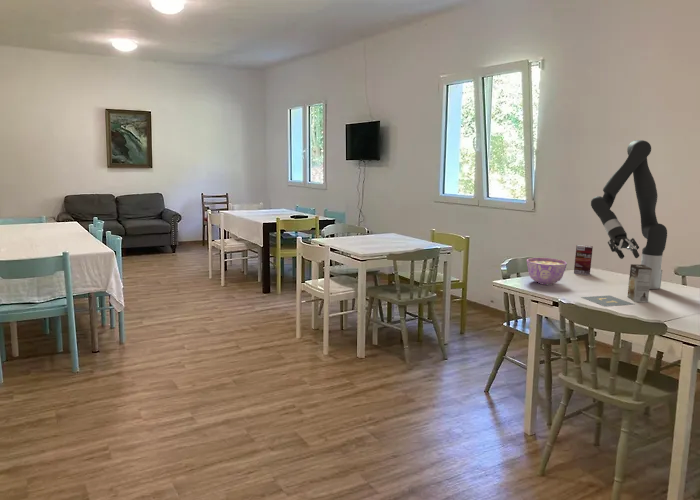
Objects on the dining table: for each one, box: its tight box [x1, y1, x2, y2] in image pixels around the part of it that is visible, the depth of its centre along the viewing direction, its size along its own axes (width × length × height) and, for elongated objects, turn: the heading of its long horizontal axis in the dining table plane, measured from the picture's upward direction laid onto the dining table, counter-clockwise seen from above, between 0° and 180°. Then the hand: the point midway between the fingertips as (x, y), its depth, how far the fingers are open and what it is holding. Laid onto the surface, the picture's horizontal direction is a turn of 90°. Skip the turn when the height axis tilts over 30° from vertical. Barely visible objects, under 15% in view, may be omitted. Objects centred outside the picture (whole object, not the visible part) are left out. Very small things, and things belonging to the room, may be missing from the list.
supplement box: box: [573, 244, 594, 276], centre depth 314 cm, size 9×5×16 cm, turn 68°
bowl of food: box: [526, 257, 568, 285], centre depth 290 cm, size 20×20×12 cm
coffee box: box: [627, 263, 652, 303], centre depth 258 cm, size 9×6×16 cm
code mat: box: [581, 295, 634, 307], centre depth 257 cm, size 16×16×1 cm
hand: (630, 257), depth 264 cm, fingers open, 8 cm apart
